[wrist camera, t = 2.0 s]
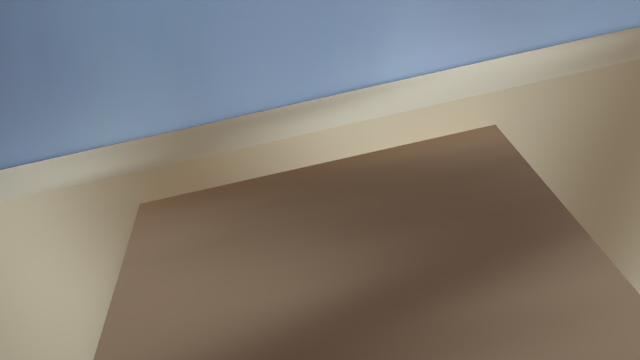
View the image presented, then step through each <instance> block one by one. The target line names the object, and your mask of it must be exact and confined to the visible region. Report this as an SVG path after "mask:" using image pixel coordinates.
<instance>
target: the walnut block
mask: <svg viewBox="0 0 640 360" xmlns="http://www.w3.org/2000/svg"><path fill="white" fill-rule="evenodd" d="M93 360H640V294H639V293H638V292H637V291H636V289H635V288H634V287H633V286H632V285H631V284H630V282H629V281H628V280H627V279H626V278H625V276H624V275H623V274H622V273H621V272H620V271H619V269H618V268H617V267H616V266H615V265H614V264H613V262H612V261H611V260H610V259H609V258H608V256H607V255H606V254H605V253H604V252H603V251H602V249H601V248H600V247H599V246H598V245H597V244H596V242H595V241H594V240H593V239H592V238H591V236H590V235H589V234H588V233H587V232H586V231H585V229H584V228H583V227H582V226H581V225H580V224H579V222H578V221H577V220H576V219H575V218H574V216H573V215H572V214H571V213H570V212H569V211H568V209H567V208H566V207H565V206H564V205H563V203H562V202H561V201H560V200H559V199H558V198H557V196H556V195H555V194H554V193H553V192H552V191H551V189H550V188H549V187H548V186H547V185H546V183H545V182H544V181H543V180H542V179H541V178H540V176H539V175H538V174H537V173H536V172H535V171H534V169H533V168H532V167H531V166H530V165H529V163H528V162H527V161H526V160H525V159H524V158H523V156H522V155H521V154H520V153H519V152H518V151H517V149H516V148H515V147H514V146H513V145H512V143H511V142H510V141H509V140H508V139H507V138H506V136H505V135H504V134H503V133H502V132H501V130H500V129H499V128H498V127H497V126H496V125H491V126H486V127H482V128H477V129H473V130H468V131H464V132H459V133H455V134H450V135H446V136H441V137H437V138H432V139H428V140H423V141H419V142H414V143H410V144H405V145H401V146H397V147H392V148H388V149H383V150H379V151H374V152H370V153H365V154H361V155H356V156H352V157H347V158H343V159H338V160H334V161H329V162H325V163H320V164H316V165H311V166H307V167H302V168H298V169H293V170H289V171H284V172H280V173H275V174H271V175H266V176H262V177H257V178H253V179H248V180H244V181H240V182H235V183H231V184H226V185H222V186H217V187H213V188H208V189H204V190H199V191H195V192H190V193H186V194H181V195H177V196H172V197H168V198H163V199H159V200H154V201H150V202H145V203H141V204H140V206H139V209H138V212H137V216H136V219H135V222H134V226H133V229H132V232H131V236H130V239H129V242H128V246H127V249H126V252H125V256H124V259H123V262H122V266H121V269H120V272H119V276H118V279H117V282H116V286H115V289H114V292H113V296H112V299H111V302H110V306H109V309H108V312H107V316H106V319H105V322H104V326H103V329H102V332H101V336H100V339H99V342H98V346H97V349H96V353H95V356H94V359H93Z"/></svg>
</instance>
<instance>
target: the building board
mask: <svg viewBox="0 0 640 360" xmlns="http://www.w3.org/2000/svg"><path fill="white" fill-rule="evenodd" d="M491 125H496V126H497V127H498V128H499V129H500V130H501V132H502V133H503V134H504V135H505V136H506V138H507V139H508V140H509V141H510V142H511V143H512V145H513V146H514V147H515V148H516V149H517V151H518V152H519V153H520V154H521V155H522V156H523V158H524V159H525V160H526V161H527V162H528V163H529V165H530V166H531V167H532V168H533V169H534V171H535V172H536V173H537V174H538V175H539V176H540V178H541V179H542V180H543V181H544V182H545V183H546V185H547V186H548V187H549V188H550V189H551V191H552V192H553V193H554V194H555V195H556V196H557V198H558V199H559V200H560V201H561V202H562V203H563V205H564V206H565V207H566V208H567V209H568V211H569V212H570V213H571V214H572V215H573V216H574V218H575V219H576V220H577V221H578V222H579V224H580V225H581V226H582V227H583V228H584V229H585V231H586V232H587V233H588V234H589V235H590V236H591V238H592V239H593V240H594V241H595V242H596V244H597V245H598V246H599V247H600V248H601V249H602V251H603V252H604V253H605V254H606V255H607V256H608V258H609V259H610V260H611V261H612V262H613V264H614V265H615V266H616V267H617V268H618V269H619V271H620V272H621V273H622V274H623V275H624V276H625V278H626V279H627V280H628V281H629V282H630V284H631V285H632V286H633V287H634V288H635V289H636V291H637V292H638V293H639V294H640V27H636V28H631V29H627V30H622V31H618V32H613V33H609V34H605V35H600V36H596V37H591V38H587V39H582V40H578V41H573V42H569V43H564V44H560V45H556V46H551V47H547V48H542V49H538V50H533V51H529V52H524V53H520V54H515V55H511V56H506V57H502V58H498V59H493V60H489V61H484V62H480V63H475V64H471V65H466V66H462V67H457V68H453V69H449V70H444V71H440V72H435V73H431V74H426V75H422V76H417V77H413V78H408V79H404V80H400V81H395V82H391V83H386V84H382V85H377V86H373V87H368V88H364V89H359V90H355V91H350V92H346V93H342V94H337V95H333V96H328V97H324V98H319V99H315V100H310V101H306V102H301V103H297V104H293V105H288V106H284V107H279V108H275V109H270V110H266V111H261V112H257V113H252V114H248V115H244V116H239V117H235V118H230V119H226V120H221V121H217V122H212V123H208V124H203V125H199V126H194V127H190V128H186V129H181V130H177V131H172V132H168V133H163V134H159V135H154V136H150V137H145V138H141V139H137V140H132V141H128V142H123V143H119V144H114V145H110V146H105V147H101V148H96V149H92V150H88V151H83V152H79V153H74V154H70V155H65V156H61V157H56V158H52V159H47V160H43V161H38V162H34V163H30V164H25V165H21V166H16V167H12V168H7V169H3V170H0V360H93V359H94V356H95V353H96V349H97V346H98V342H99V339H100V336H101V332H102V329H103V326H104V322H105V319H106V316H107V312H108V309H109V306H110V302H111V299H112V296H113V292H114V289H115V286H116V282H117V279H118V276H119V272H120V269H121V266H122V262H123V259H124V256H125V252H126V249H127V246H128V242H129V239H130V236H131V232H132V229H133V226H134V222H135V219H136V216H137V212H138V209H139V206H140V204H141V203H145V202H150V201H154V200H159V199H163V198H168V197H172V196H177V195H181V194H186V193H190V192H195V191H199V190H204V189H208V188H213V187H217V186H222V185H226V184H231V183H235V182H240V181H244V180H248V179H253V178H257V177H262V176H266V175H271V174H275V173H280V172H284V171H289V170H293V169H298V168H302V167H307V166H311V165H316V164H320V163H325V162H329V161H334V160H338V159H343V158H347V157H352V156H356V155H361V154H365V153H370V152H374V151H379V150H383V149H388V148H392V147H397V146H401V145H405V144H410V143H414V142H419V141H423V140H428V139H432V138H437V137H441V136H446V135H450V134H455V133H459V132H464V131H468V130H473V129H477V128H482V127H486V126H491Z"/></svg>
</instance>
